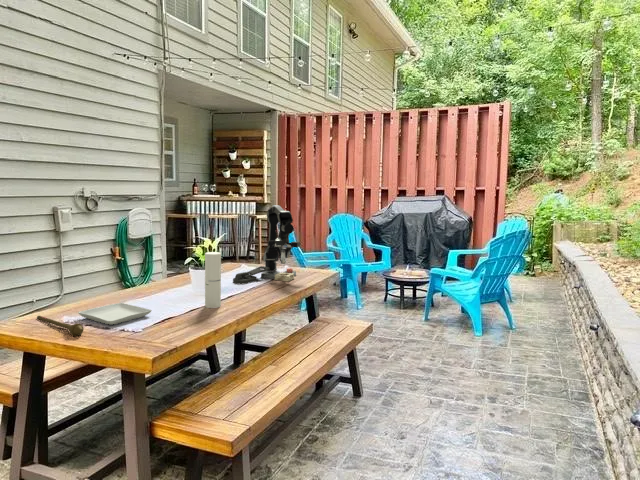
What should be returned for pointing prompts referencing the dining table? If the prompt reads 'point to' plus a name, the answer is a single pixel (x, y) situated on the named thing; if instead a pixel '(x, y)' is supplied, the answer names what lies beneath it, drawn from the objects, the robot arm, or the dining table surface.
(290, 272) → the release button
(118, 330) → the dining table surface
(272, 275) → the socket block
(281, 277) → the rack
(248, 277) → the dark grey stapler
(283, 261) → the drill peg
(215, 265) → the cylindrical container
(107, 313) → the salad plate
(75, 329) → the ball ended rod
